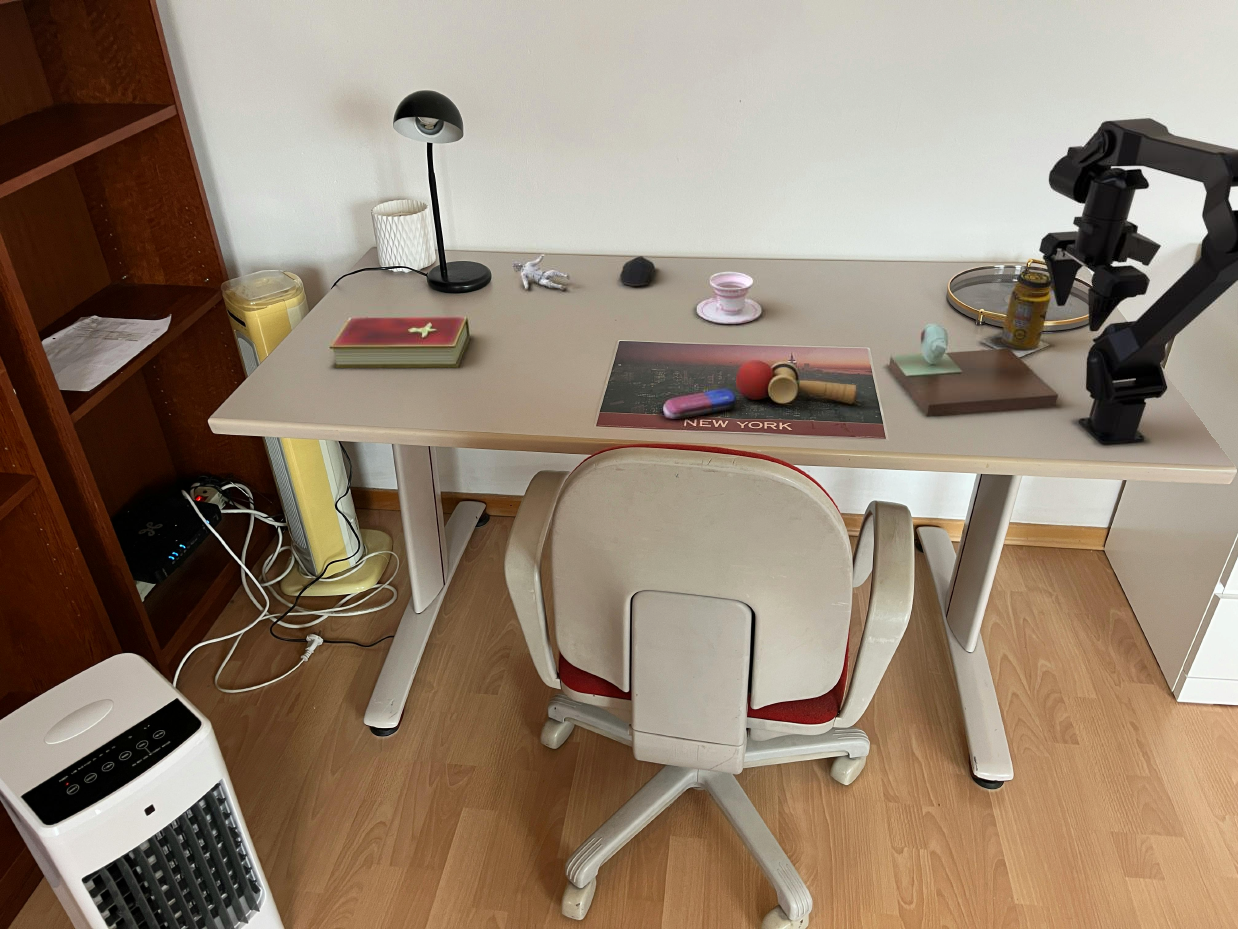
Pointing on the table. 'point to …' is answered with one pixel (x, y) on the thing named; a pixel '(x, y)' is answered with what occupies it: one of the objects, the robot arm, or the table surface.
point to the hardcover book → (401, 342)
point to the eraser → (699, 404)
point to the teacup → (729, 300)
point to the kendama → (786, 383)
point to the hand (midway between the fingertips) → (1076, 317)
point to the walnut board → (971, 382)
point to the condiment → (1025, 315)
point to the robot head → (934, 342)
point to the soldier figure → (538, 274)
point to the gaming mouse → (637, 272)
